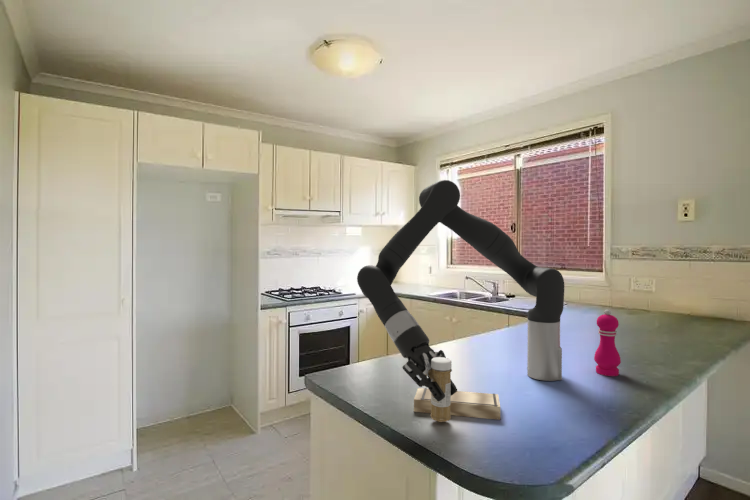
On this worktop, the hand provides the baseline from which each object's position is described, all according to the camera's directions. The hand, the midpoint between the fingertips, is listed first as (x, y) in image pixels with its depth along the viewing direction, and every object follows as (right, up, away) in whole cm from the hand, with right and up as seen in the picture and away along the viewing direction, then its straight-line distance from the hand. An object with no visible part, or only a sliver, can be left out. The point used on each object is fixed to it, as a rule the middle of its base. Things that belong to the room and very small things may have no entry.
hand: (448, 395), depth 90 cm
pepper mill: (+57, -6, +36) cm, 67 cm away
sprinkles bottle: (-1, -6, +1) cm, 6 cm away
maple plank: (+4, -6, +9) cm, 12 cm away
